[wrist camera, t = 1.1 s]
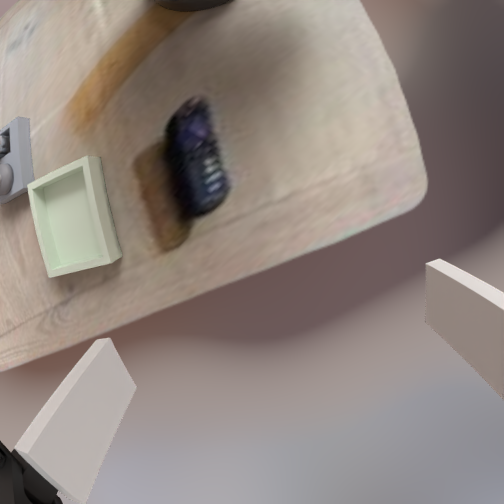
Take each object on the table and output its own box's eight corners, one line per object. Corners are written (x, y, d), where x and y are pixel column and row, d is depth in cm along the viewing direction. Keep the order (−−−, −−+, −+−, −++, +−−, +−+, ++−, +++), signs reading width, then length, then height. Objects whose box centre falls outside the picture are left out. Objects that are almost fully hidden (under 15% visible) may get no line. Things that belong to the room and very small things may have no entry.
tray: (41, 183, 32) (27, 184, 29) (100, 157, 32) (87, 155, 29) (61, 270, 36) (49, 278, 32) (122, 256, 35) (111, 263, 32)
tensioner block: (-1, 140, 30) (-21, 139, 25) (29, 118, 30) (8, 114, 24) (5, 203, 33) (-16, 207, 27) (35, 186, 32) (12, 189, 27)
